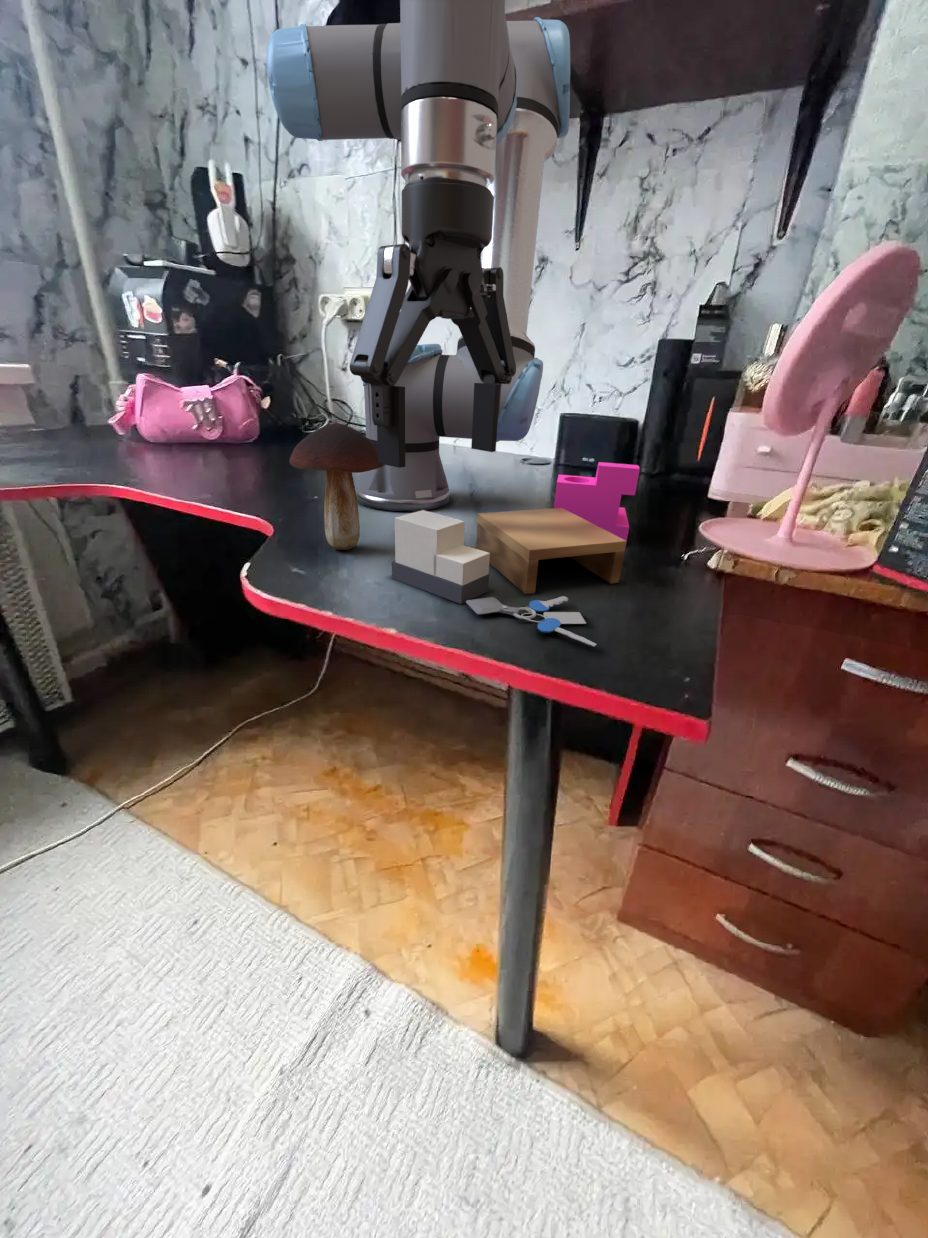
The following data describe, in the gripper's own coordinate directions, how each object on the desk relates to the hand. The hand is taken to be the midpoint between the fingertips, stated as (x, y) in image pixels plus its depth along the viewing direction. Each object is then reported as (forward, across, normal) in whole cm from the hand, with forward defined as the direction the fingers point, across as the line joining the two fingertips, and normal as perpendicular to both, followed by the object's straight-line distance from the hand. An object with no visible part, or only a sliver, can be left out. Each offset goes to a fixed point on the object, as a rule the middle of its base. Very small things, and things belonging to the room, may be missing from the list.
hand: (441, 457), depth 53 cm
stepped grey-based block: (+14, 0, 0) cm, 14 cm away
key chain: (+14, +1, -12) cm, 18 cm away
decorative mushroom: (+14, 0, +16) cm, 21 cm away
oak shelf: (+14, +13, -5) cm, 20 cm away
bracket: (+14, +32, -2) cm, 34 cm away
